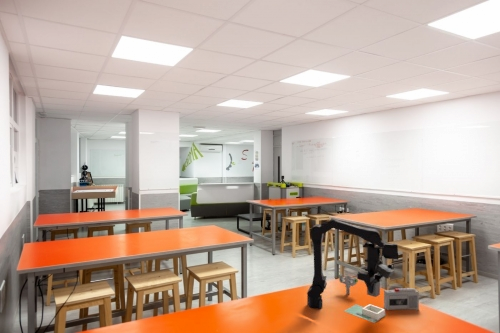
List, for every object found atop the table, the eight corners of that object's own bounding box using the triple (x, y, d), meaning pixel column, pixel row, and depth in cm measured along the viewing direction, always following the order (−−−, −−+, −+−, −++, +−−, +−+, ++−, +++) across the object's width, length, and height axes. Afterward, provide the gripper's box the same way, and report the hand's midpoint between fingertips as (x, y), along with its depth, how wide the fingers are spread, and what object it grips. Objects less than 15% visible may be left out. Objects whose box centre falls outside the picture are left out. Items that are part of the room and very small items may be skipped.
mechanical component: (340, 292, 174) (340, 273, 174) (358, 297, 166) (358, 278, 166) (337, 293, 172) (337, 274, 172) (355, 299, 164) (355, 279, 164)
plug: (366, 294, 146) (366, 280, 146) (370, 291, 149) (370, 278, 149) (375, 297, 143) (375, 283, 143) (379, 294, 145) (379, 281, 145)
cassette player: (386, 311, 151) (386, 290, 151) (384, 309, 153) (384, 288, 153) (418, 310, 152) (418, 289, 152) (415, 308, 154) (415, 287, 154)
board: (343, 312, 149) (343, 310, 149) (355, 306, 156) (355, 303, 156) (374, 324, 138) (374, 322, 138) (386, 316, 145) (386, 314, 145)
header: (361, 314, 146) (361, 308, 146) (369, 309, 151) (369, 304, 151) (377, 319, 140) (377, 314, 140) (385, 315, 145) (385, 309, 145)
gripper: (381, 265, 133) (380, 303, 133) (400, 257, 146) (400, 291, 146) (356, 259, 142) (356, 295, 142) (376, 252, 154) (376, 284, 154)
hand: (373, 291), depth 146 cm, fingers closed on plug, 4 cm apart
